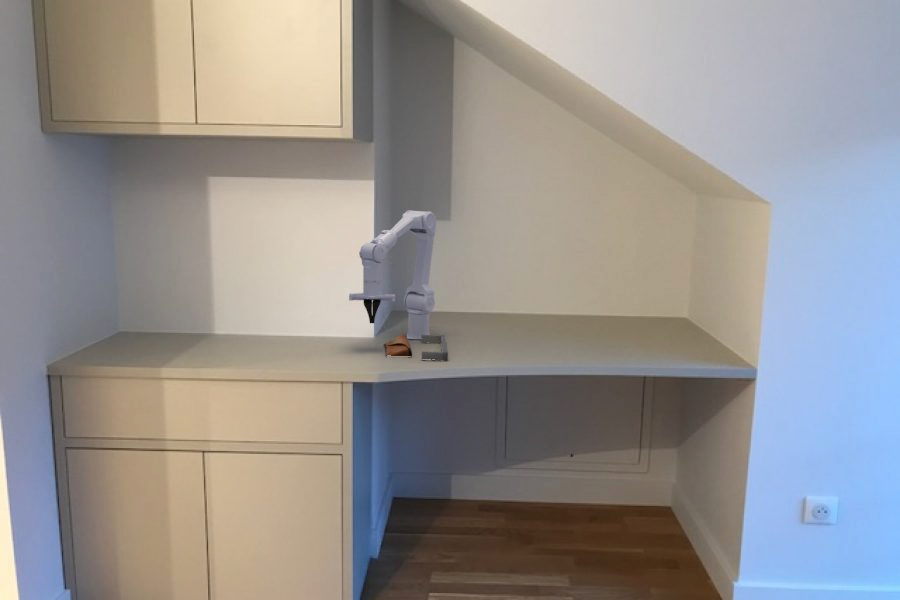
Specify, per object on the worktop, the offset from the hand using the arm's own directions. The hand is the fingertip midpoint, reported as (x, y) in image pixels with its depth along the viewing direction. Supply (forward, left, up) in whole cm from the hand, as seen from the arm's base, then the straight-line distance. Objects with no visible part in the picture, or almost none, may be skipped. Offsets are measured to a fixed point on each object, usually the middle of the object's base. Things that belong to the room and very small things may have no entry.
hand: (372, 322), depth 226 cm
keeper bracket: (0, +20, -9) cm, 22 cm away
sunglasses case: (0, +8, -10) cm, 13 cm away
